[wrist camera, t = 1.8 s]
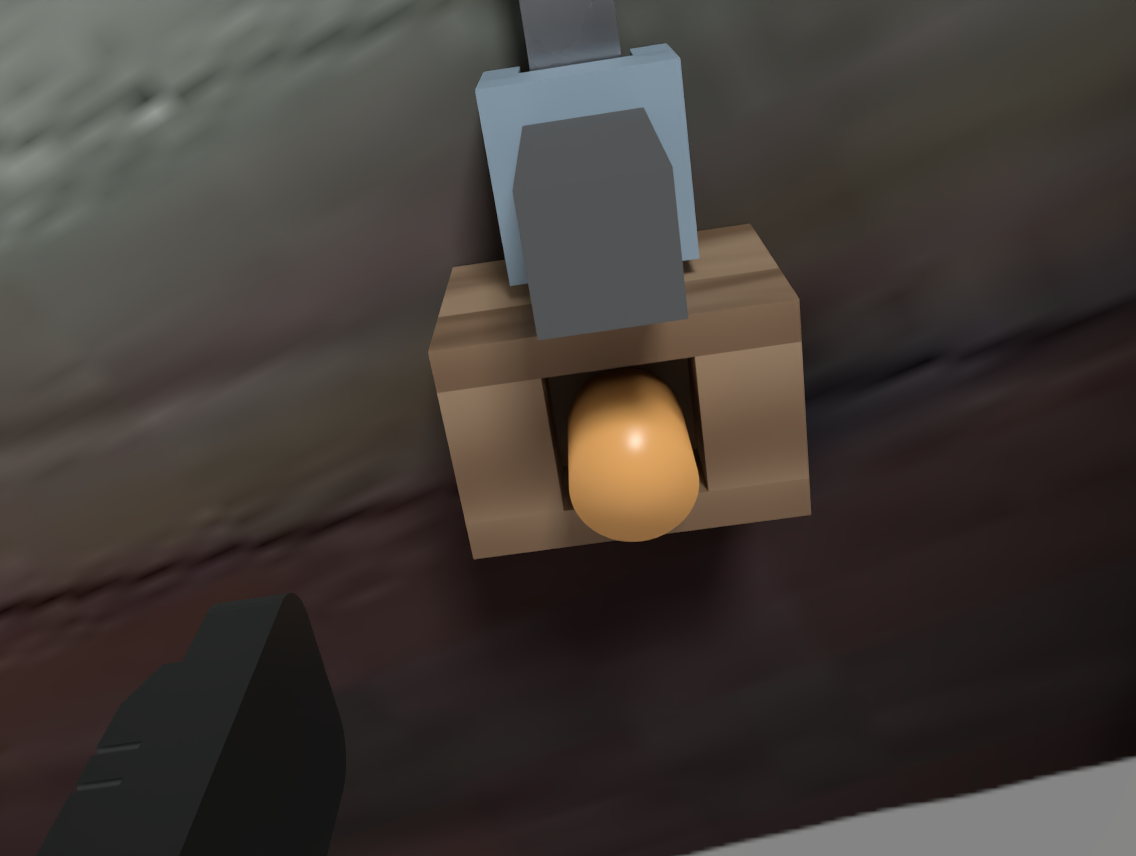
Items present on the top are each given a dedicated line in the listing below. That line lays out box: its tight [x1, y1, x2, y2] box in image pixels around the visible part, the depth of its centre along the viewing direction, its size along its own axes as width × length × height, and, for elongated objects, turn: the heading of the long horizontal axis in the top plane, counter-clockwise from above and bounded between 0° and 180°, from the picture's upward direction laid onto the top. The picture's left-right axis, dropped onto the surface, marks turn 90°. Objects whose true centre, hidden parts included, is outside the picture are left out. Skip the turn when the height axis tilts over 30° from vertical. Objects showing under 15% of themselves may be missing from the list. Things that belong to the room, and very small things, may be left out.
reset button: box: [567, 368, 699, 542], centre depth 26 cm, size 3×3×4 cm
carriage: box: [475, 43, 699, 340], centre depth 25 cm, size 5×5×10 cm
